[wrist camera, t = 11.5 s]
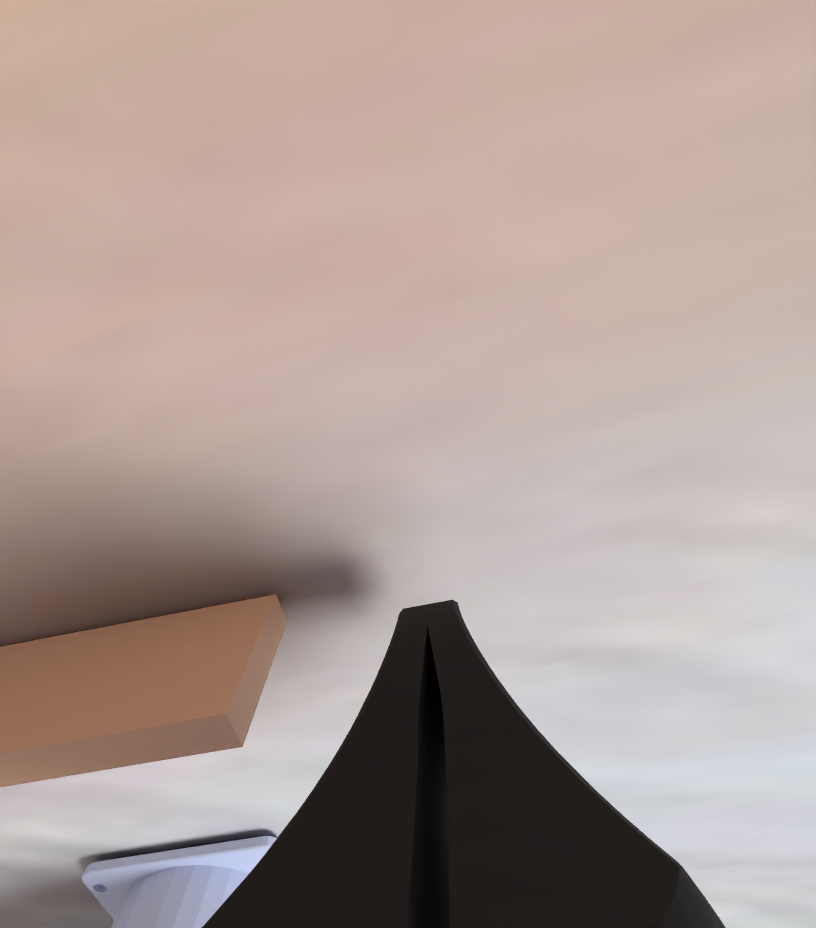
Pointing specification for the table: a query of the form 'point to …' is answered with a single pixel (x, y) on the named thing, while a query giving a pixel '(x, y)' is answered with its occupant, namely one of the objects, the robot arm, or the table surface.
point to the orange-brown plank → (135, 690)
